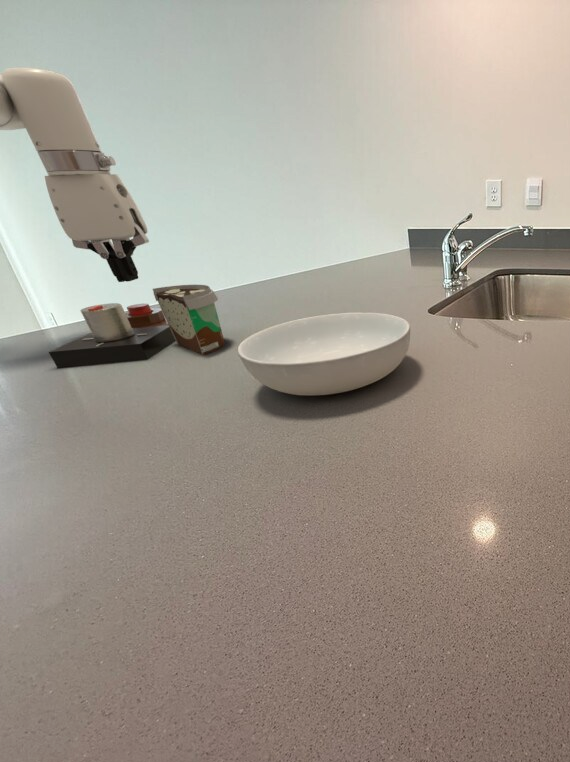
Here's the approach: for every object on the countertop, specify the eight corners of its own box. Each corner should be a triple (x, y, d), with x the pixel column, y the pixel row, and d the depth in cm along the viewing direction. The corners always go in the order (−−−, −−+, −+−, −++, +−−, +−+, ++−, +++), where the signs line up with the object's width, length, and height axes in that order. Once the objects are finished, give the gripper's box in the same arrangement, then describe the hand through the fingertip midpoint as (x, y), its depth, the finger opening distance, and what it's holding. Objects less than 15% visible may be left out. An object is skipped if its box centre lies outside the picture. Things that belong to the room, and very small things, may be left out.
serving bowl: (446, 375, 57) (441, 328, 54) (291, 438, 43) (273, 380, 40) (369, 342, 70) (362, 303, 67) (232, 383, 56) (215, 336, 53)
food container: (247, 346, 70) (228, 288, 65) (208, 358, 65) (184, 296, 61) (213, 335, 76) (193, 281, 71) (174, 345, 71) (150, 288, 67)
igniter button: (126, 317, 75) (122, 308, 74) (136, 313, 77) (132, 304, 77) (146, 316, 75) (142, 307, 74) (156, 311, 78) (152, 302, 77)
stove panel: (58, 370, 62) (47, 351, 61) (101, 347, 71) (92, 330, 70) (148, 361, 65) (139, 342, 63) (179, 340, 73) (172, 324, 72)
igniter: (105, 342, 73) (95, 321, 72) (131, 329, 80) (122, 309, 79) (168, 337, 75) (159, 316, 74) (188, 324, 82) (181, 305, 81)
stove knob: (108, 333, 68) (92, 302, 66) (140, 331, 69) (127, 300, 67) (88, 343, 64) (71, 310, 61) (123, 340, 65) (107, 307, 62)
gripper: (143, 165, 70) (185, 273, 78) (39, 168, 67) (94, 279, 75) (116, 162, 64) (165, 280, 72) (0, 166, 61) (65, 288, 69)
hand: (128, 280), depth 74 cm, fingers closed
